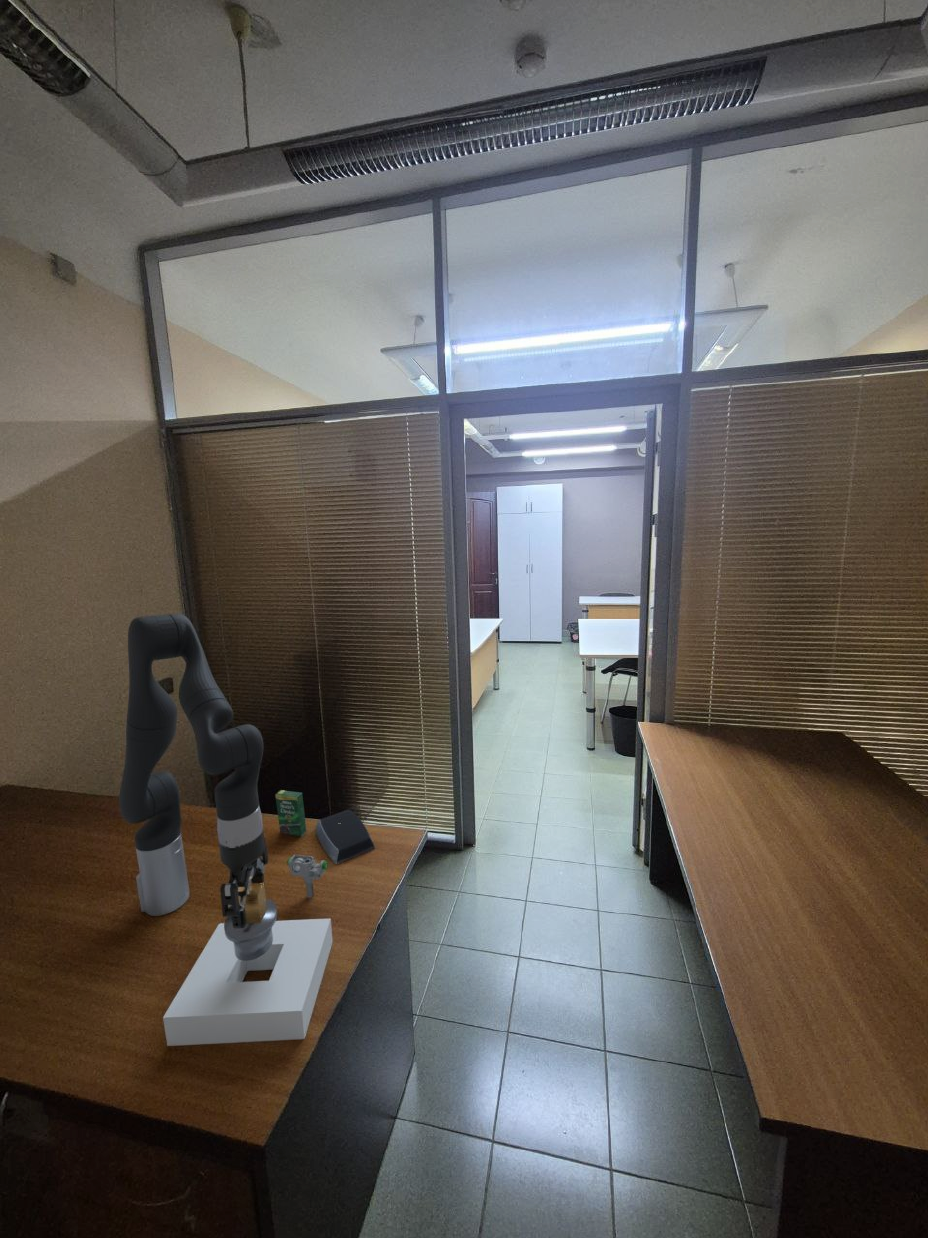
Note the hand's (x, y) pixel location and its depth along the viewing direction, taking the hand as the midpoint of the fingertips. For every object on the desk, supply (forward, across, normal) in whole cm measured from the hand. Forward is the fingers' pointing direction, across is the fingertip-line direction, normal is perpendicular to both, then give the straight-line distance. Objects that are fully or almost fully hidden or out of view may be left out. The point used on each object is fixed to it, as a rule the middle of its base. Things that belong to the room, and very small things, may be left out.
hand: (249, 908), depth 88 cm
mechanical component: (+18, -24, +3) cm, 30 cm away
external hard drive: (+19, -46, +6) cm, 50 cm away
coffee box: (+18, -50, -10) cm, 54 cm away
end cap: (+9, 0, 0) cm, 9 cm away
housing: (+18, 0, 0) cm, 18 cm away
